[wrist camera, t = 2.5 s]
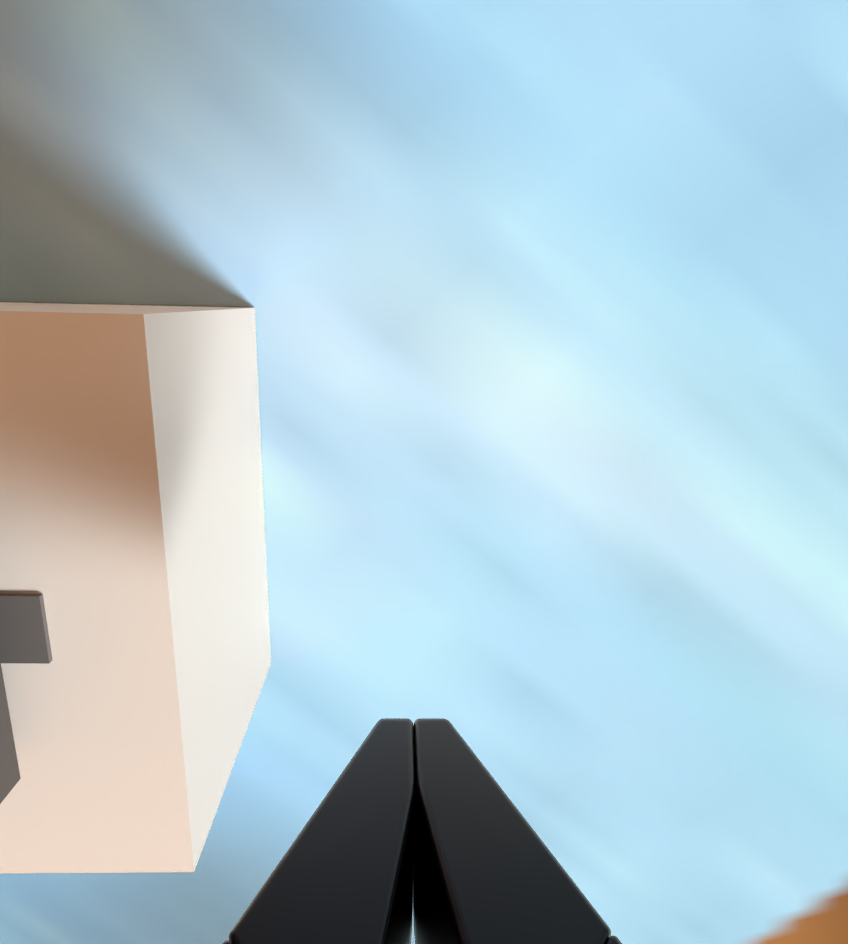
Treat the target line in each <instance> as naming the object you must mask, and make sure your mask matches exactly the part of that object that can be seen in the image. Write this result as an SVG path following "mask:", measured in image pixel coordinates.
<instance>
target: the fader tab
mask: <svg viewBox="0 0 848 944" xmlns="http://www.w3.org/2000/svg"><path fill="white" fill-rule="evenodd" d="M20 779H21V778H20V772H19V766H18V760H17V754H16V749H15V743H14V737H13V731H12V725H11V720H10V714H9V708H8V702H7V696H6V691H5V685H4V679H3V673H2V667H1V662H0V804H1V802H2V801H3V800H4V799H5V797H6V796H7V795H8V794H9V792H10V791H11V790H12V789H13V787H14V786H15V785H16V784H17V782H18V781H19V780H20Z"/></svg>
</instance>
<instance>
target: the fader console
mask: <svg viewBox="0 0 848 944" xmlns="http://www.w3.org/2000/svg"><path fill="white" fill-rule="evenodd" d="M0 662H1V667H2V673H3V679H4V685H5V691H6V696H7V702H8V708H9V714H10V720H11V725H12V731H13V737H14V743H15V749H16V754H17V760H18V766H19V772H20V778H21V779H20V780H19V781H18V782H17V784H16V785H15V786H14V787H13V789H12V790H11V791H10V792H9V794H8V795H7V796H6V797H5V799H4V800H3V801H2V802H1V804H0V873H129V872H194V871H195V869H196V866H197V863H198V860H199V858H200V855H201V852H202V850H203V847H204V844H205V841H206V839H207V836H208V833H209V831H210V828H211V825H212V822H213V820H214V817H215V814H216V812H217V809H218V806H219V803H220V801H221V798H222V795H223V793H224V790H225V787H226V784H227V782H228V779H229V776H230V774H231V771H232V768H233V766H234V763H235V760H236V757H237V755H238V752H239V749H240V747H241V744H242V741H243V738H244V736H245V733H246V730H247V728H248V725H249V722H250V719H251V717H252V714H253V711H254V709H255V706H256V703H257V700H258V698H259V695H260V692H261V690H262V687H263V684H264V681H265V679H266V676H267V673H268V671H269V668H270V665H271V643H270V621H269V599H268V578H267V556H266V534H265V513H264V491H263V469H262V448H261V426H260V405H259V383H258V361H257V340H256V318H255V308H242V307H198V306H153V305H108V304H63V303H18V302H0Z"/></svg>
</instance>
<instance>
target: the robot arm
mask: <svg viewBox="0 0 848 944" xmlns="http://www.w3.org/2000/svg"><path fill="white" fill-rule="evenodd" d="M412 908H413V916H414V934H415V944H622V943H621V942H620V941H619V939H618V938H617V937H616V936H611V930H610V928H609V927H608V926H607V924H606V923H605V922H604V920H603V919H602V918H601V917H600V915H599V914H598V913H597V911H596V910H595V909H594V907H593V906H592V905H591V904H590V902H589V901H588V900H587V898H586V897H585V896H584V895H583V893H582V892H581V891H580V889H579V888H578V887H577V886H576V884H575V883H574V882H573V880H572V879H571V878H570V877H569V875H568V874H567V873H566V871H565V870H564V869H563V867H562V866H561V865H560V864H559V862H558V861H557V860H556V858H555V857H554V856H553V855H552V853H551V852H550V851H549V849H548V848H547V847H546V846H545V844H544V843H543V842H542V840H541V839H540V838H539V837H538V835H537V834H536V833H535V831H534V830H533V829H532V827H531V826H530V825H529V824H528V822H527V821H526V820H525V818H524V817H523V816H522V815H521V813H520V812H519V811H518V809H517V808H516V807H515V806H514V804H513V803H512V802H511V800H510V799H509V798H508V797H507V795H506V794H505V793H504V791H503V790H502V789H501V787H500V786H499V785H498V784H497V782H496V781H495V780H494V778H493V777H492V776H491V775H490V773H489V772H488V771H487V769H486V768H485V767H484V766H483V764H482V763H481V762H480V760H479V759H478V758H477V756H476V755H475V754H474V753H473V751H472V750H471V749H470V747H469V746H468V745H467V744H466V742H465V741H464V740H463V738H462V737H461V736H460V735H459V733H458V732H457V731H456V729H455V728H454V727H453V726H452V724H451V723H450V722H449V721H448V720H446V719H417V720H416V721H415V722H414V727H413V722H412V721H411V720H410V719H381V720H379V721H378V722H377V724H376V725H375V726H374V728H373V729H372V731H371V732H370V734H369V735H368V736H367V738H366V739H365V741H364V742H363V744H362V745H361V746H360V748H359V749H358V751H357V752H356V754H355V755H354V756H353V758H352V759H351V761H350V762H349V764H348V765H347V766H346V768H345V769H344V771H343V772H342V774H341V775H340V777H339V778H338V779H337V781H336V782H335V784H334V785H333V787H332V788H331V789H330V791H329V792H328V794H327V795H326V797H325V798H324V799H323V801H322V802H321V804H320V805H319V807H318V808H317V809H316V811H315V812H314V814H313V815H312V817H311V818H310V820H309V821H308V822H307V824H306V825H305V827H304V828H303V830H302V831H301V832H300V834H299V835H298V837H297V838H296V840H295V841H294V842H293V844H292V845H291V847H290V848H289V850H288V851H287V853H286V854H285V855H284V857H283V858H282V860H281V861H280V863H279V864H278V865H277V867H276V868H275V870H274V871H273V873H272V874H271V875H270V877H269V878H268V880H267V881H266V883H265V884H264V885H263V887H262V888H261V890H260V891H259V893H258V894H257V896H256V897H255V898H254V900H253V901H252V903H251V904H250V906H249V907H248V908H247V910H246V911H245V913H244V914H243V916H242V917H241V918H240V920H239V921H238V923H237V924H236V926H235V927H234V928H233V930H232V931H231V933H230V935H229V941H225V942H223V944H411V934H412Z"/></svg>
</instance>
